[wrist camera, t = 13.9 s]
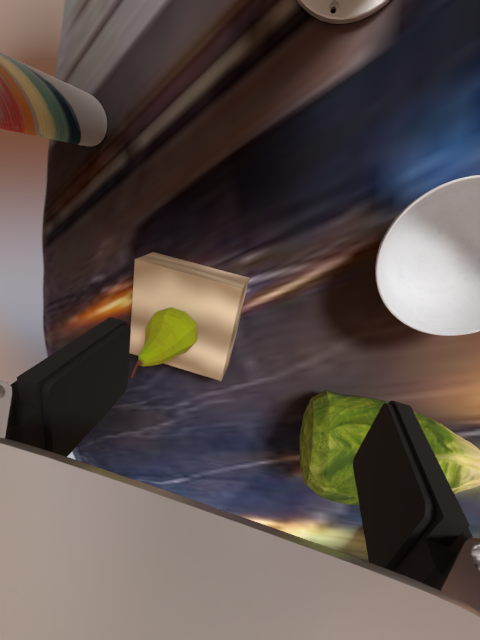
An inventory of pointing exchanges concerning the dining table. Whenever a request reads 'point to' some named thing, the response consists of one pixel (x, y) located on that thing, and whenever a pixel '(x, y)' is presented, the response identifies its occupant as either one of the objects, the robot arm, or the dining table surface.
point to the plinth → (189, 308)
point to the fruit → (167, 337)
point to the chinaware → (434, 261)
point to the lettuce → (348, 434)
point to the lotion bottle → (48, 106)
